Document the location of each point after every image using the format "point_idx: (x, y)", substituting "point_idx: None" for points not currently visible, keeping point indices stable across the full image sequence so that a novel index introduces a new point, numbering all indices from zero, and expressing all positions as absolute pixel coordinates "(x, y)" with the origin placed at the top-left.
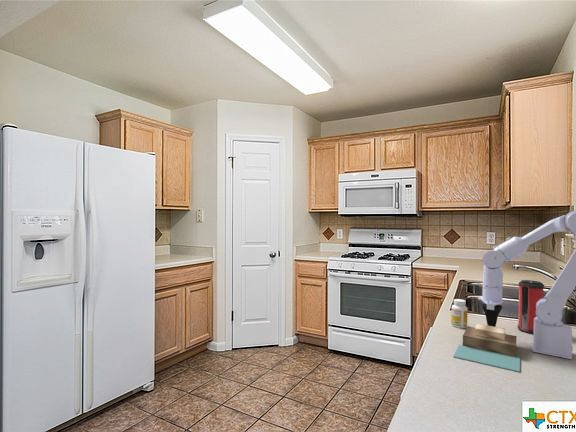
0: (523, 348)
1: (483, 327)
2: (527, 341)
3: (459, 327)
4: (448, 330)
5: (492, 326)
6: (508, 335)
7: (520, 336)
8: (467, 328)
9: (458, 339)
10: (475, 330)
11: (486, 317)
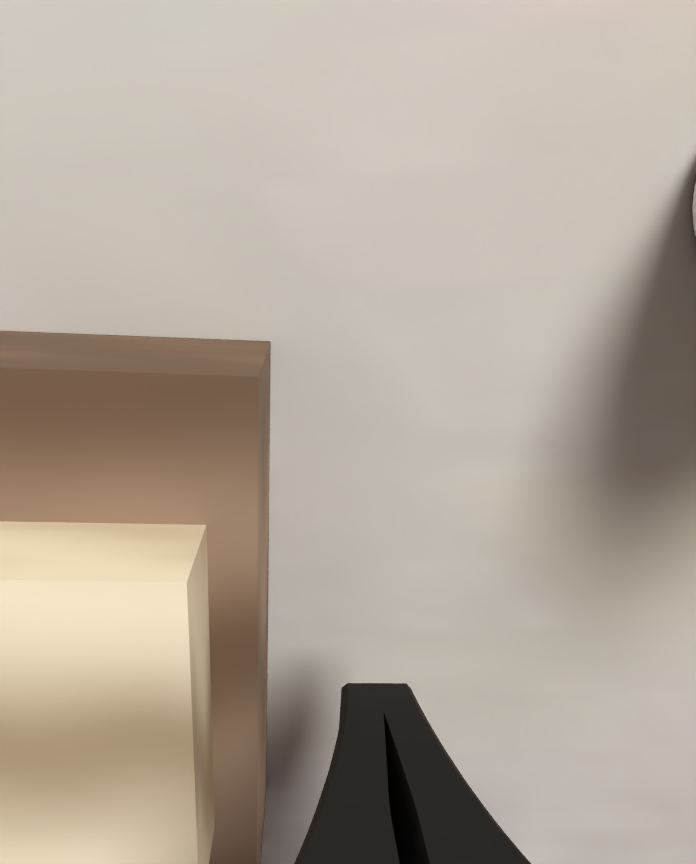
0: (270, 834)
1: (6, 689)
2: None
3: (693, 203)
4: (469, 42)
5: (190, 788)
6: (215, 854)
7: (658, 809)
8: (174, 390)
9: (96, 242)
10: None
11: (320, 808)
